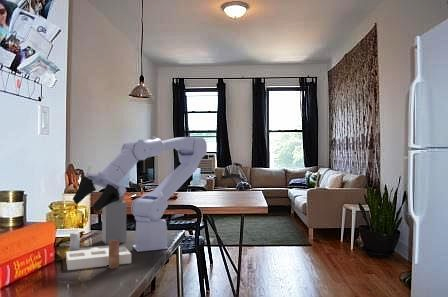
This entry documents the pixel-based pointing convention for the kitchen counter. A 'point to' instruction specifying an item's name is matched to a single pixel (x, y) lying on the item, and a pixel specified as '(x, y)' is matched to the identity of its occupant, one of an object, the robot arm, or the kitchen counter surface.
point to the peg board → (94, 258)
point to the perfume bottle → (114, 221)
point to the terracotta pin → (113, 254)
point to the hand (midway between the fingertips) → (84, 205)
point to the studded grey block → (76, 243)
